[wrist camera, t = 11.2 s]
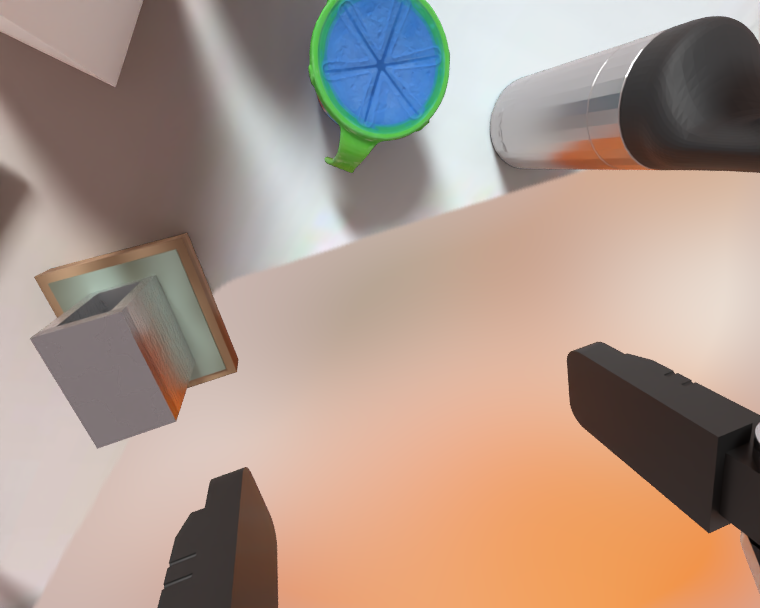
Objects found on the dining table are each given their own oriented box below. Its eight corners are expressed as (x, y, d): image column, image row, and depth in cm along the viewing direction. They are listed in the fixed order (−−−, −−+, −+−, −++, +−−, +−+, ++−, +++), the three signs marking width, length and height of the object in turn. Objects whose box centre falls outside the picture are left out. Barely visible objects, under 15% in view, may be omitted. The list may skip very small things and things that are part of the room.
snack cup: (338, -34, 36) (366, -103, 27) (436, 37, 40) (491, -2, 30) (269, 138, 39) (273, 130, 29) (368, 189, 42) (399, 195, 33)
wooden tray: (187, 232, 39) (181, 238, 36) (238, 359, 44) (236, 373, 41) (50, 268, 37) (32, 277, 34) (120, 396, 42) (110, 414, 39)
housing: (156, 274, 36) (120, 312, 27) (195, 361, 40) (176, 421, 30) (90, 293, 35) (29, 338, 26) (136, 380, 39) (97, 448, 29)
